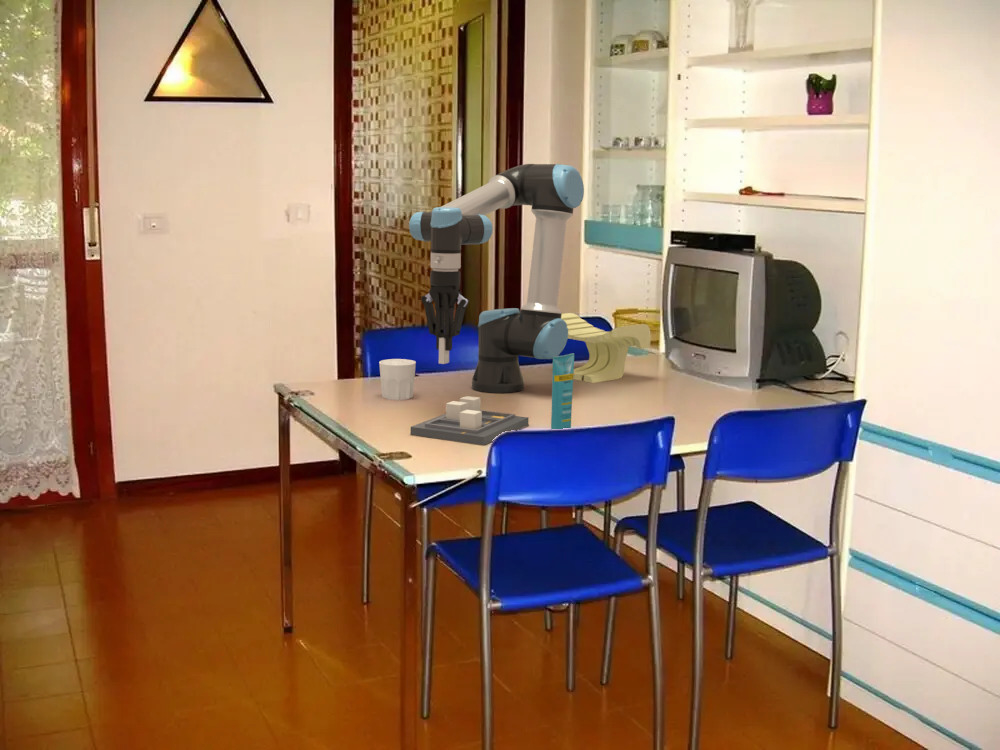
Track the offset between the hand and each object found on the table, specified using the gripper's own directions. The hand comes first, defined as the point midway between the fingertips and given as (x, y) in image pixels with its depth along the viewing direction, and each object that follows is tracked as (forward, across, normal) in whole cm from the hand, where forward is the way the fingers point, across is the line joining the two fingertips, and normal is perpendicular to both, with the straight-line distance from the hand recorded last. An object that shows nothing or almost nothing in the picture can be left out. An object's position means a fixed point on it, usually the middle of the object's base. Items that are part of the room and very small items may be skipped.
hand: (443, 362), depth 297 cm
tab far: (+12, +8, 0) cm, 14 cm away
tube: (+15, +32, +4) cm, 35 cm away
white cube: (+13, +15, -14) cm, 24 cm away
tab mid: (+12, +8, -7) cm, 16 cm away
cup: (+15, -24, +18) cm, 33 cm away
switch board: (+15, +12, -6) cm, 20 cm away
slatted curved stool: (+14, +11, +76) cm, 78 cm away
